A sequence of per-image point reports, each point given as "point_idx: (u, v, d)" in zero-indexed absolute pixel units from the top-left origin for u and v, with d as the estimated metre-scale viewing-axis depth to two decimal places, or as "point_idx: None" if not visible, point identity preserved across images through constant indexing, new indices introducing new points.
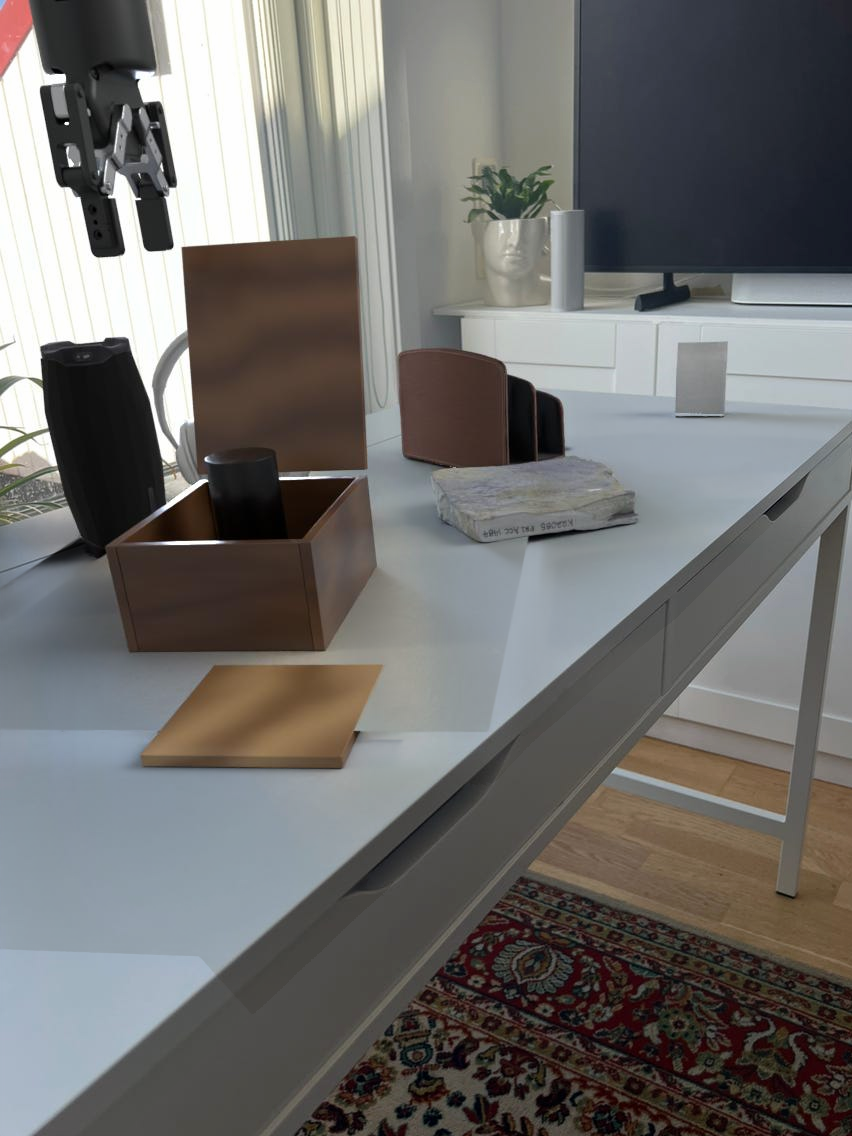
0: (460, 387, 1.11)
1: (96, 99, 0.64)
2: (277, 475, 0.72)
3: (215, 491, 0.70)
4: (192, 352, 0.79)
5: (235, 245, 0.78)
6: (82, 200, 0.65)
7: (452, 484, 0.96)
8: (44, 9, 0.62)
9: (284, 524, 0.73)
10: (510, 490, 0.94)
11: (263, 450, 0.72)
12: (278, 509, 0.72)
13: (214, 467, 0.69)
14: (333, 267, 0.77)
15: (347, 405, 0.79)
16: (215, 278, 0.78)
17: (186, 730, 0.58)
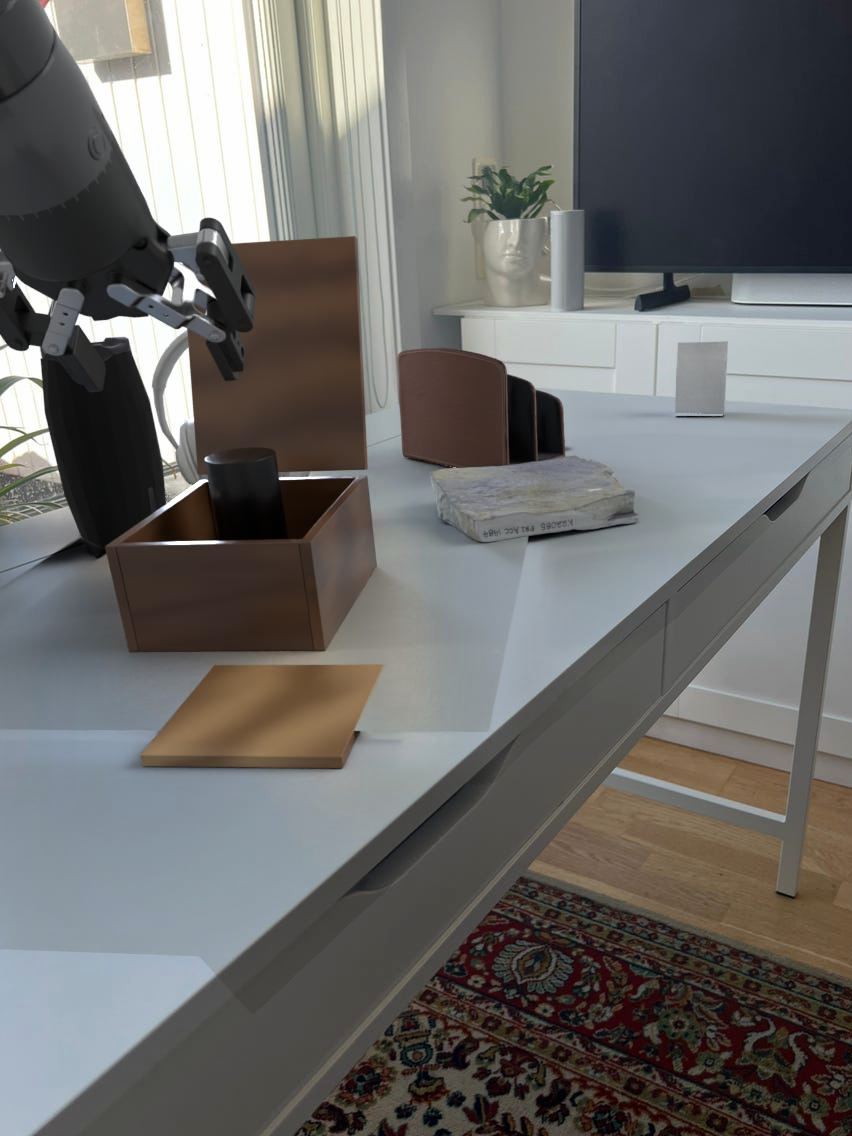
0: (460, 387, 1.11)
1: (20, 278, 0.50)
2: (277, 475, 0.72)
3: (215, 491, 0.70)
4: (192, 352, 0.79)
5: (235, 245, 0.78)
6: None
7: (452, 484, 0.96)
8: None
9: (284, 524, 0.73)
10: (510, 490, 0.94)
11: (263, 450, 0.72)
12: (278, 509, 0.72)
13: (214, 467, 0.69)
14: (333, 267, 0.77)
15: (347, 405, 0.79)
16: None
17: (186, 730, 0.58)
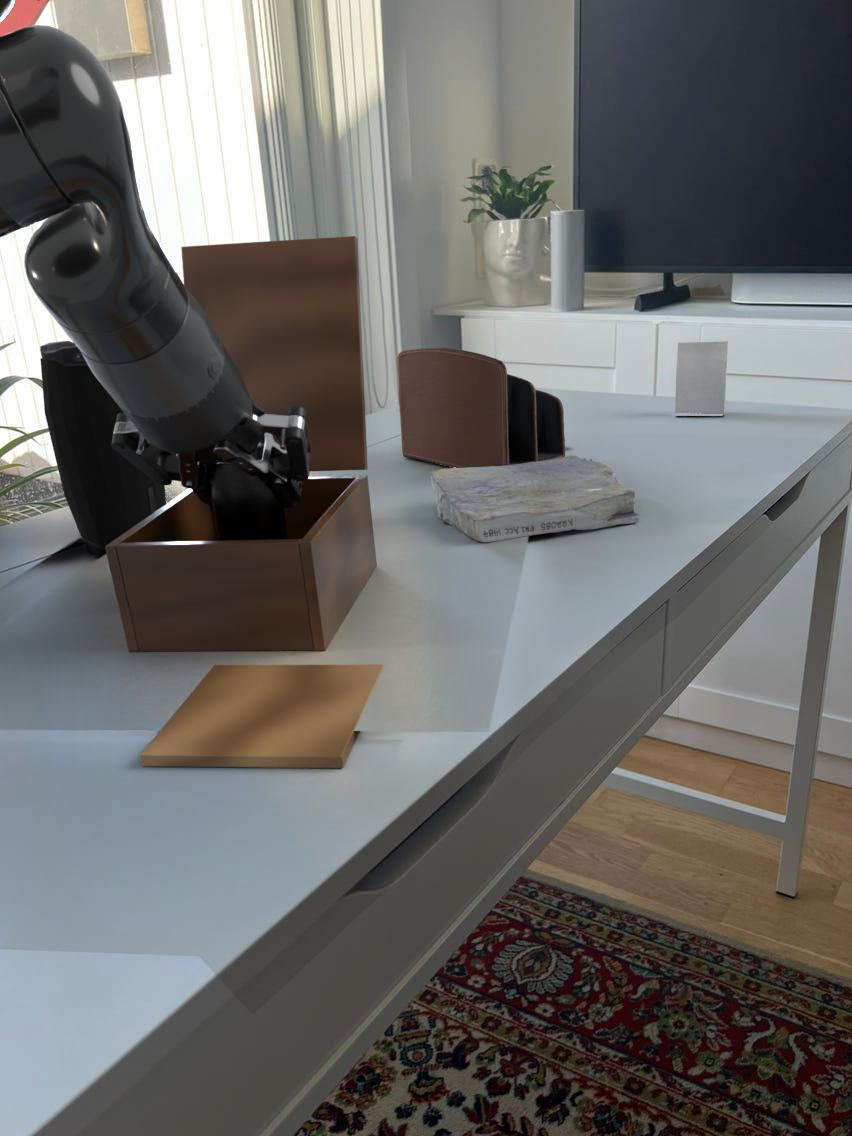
0: (460, 387, 1.11)
1: None
2: None
3: (216, 491, 0.70)
4: None
5: (235, 245, 0.78)
6: None
7: (452, 484, 0.96)
8: None
9: (284, 524, 0.73)
10: (510, 490, 0.94)
11: None
12: (278, 509, 0.72)
13: (214, 467, 0.69)
14: (333, 267, 0.77)
15: (347, 405, 0.79)
16: (215, 278, 0.78)
17: (186, 730, 0.58)
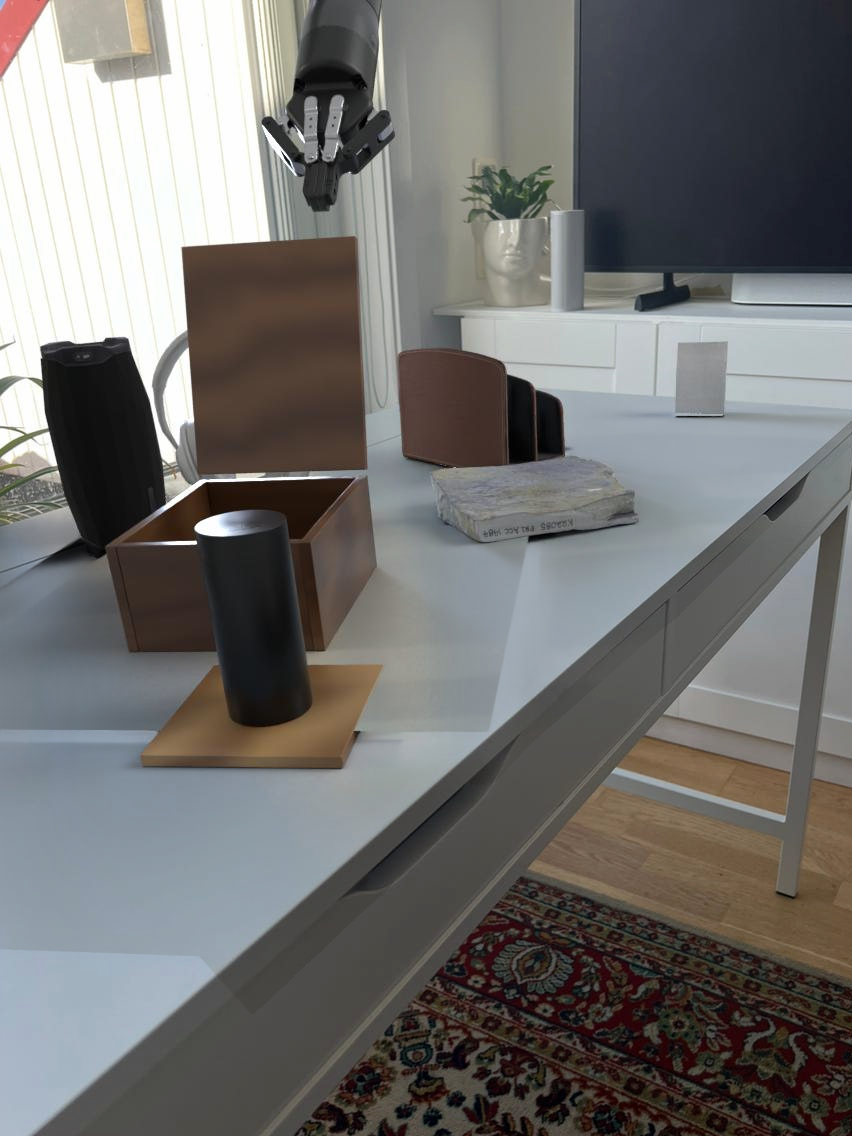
0: (460, 387, 1.11)
1: (288, 104, 0.90)
2: (288, 548, 0.55)
3: (208, 570, 0.54)
4: (192, 352, 0.79)
5: (235, 245, 0.78)
6: None
7: (452, 484, 0.96)
8: None
9: (297, 609, 0.57)
10: (510, 490, 0.94)
11: (270, 515, 0.56)
12: (290, 592, 0.56)
13: (206, 540, 0.53)
14: (333, 267, 0.77)
15: (347, 405, 0.79)
16: (215, 278, 0.78)
17: (186, 730, 0.58)
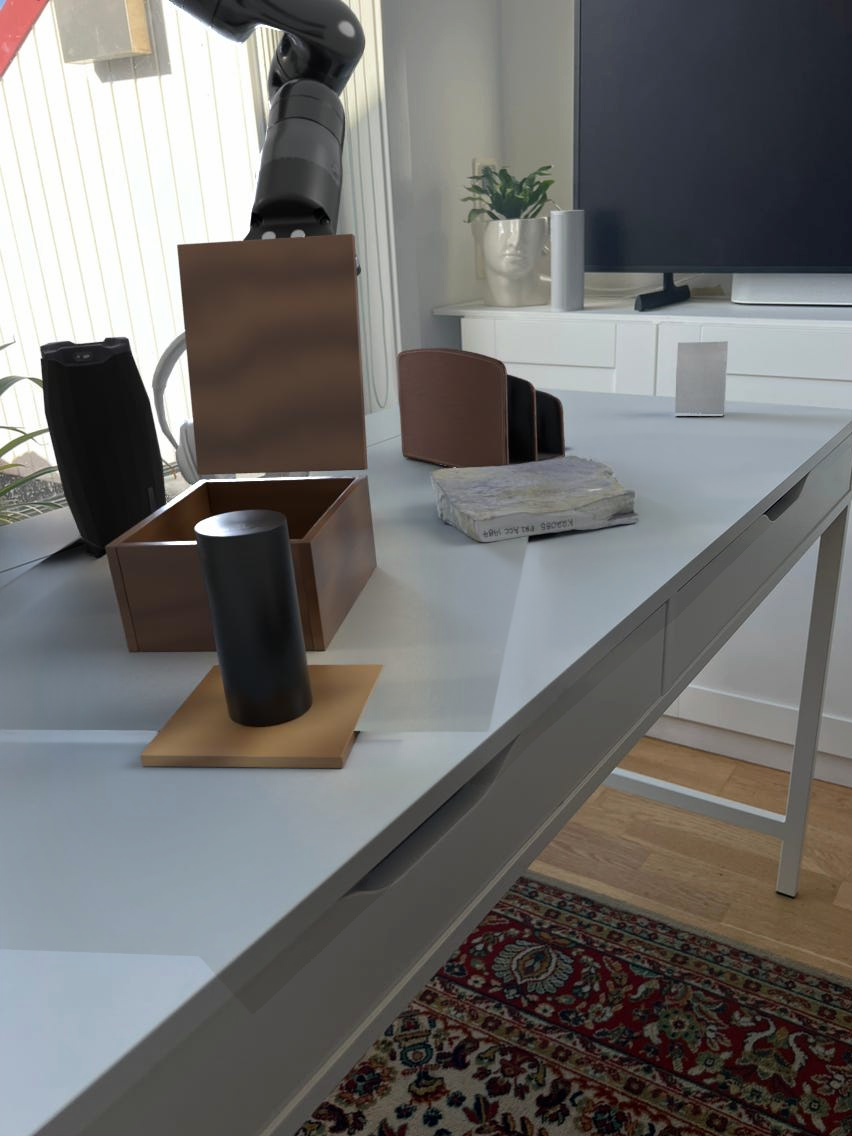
0: (460, 387, 1.11)
1: (244, 239, 0.83)
2: (288, 548, 0.55)
3: (208, 570, 0.54)
4: (190, 352, 0.79)
5: (231, 243, 0.77)
6: None
7: (452, 484, 0.96)
8: None
9: (297, 609, 0.57)
10: (510, 490, 0.94)
11: (270, 515, 0.56)
12: (290, 592, 0.56)
13: (206, 540, 0.53)
14: (330, 265, 0.76)
15: (346, 406, 0.78)
16: (211, 277, 0.78)
17: (186, 730, 0.58)
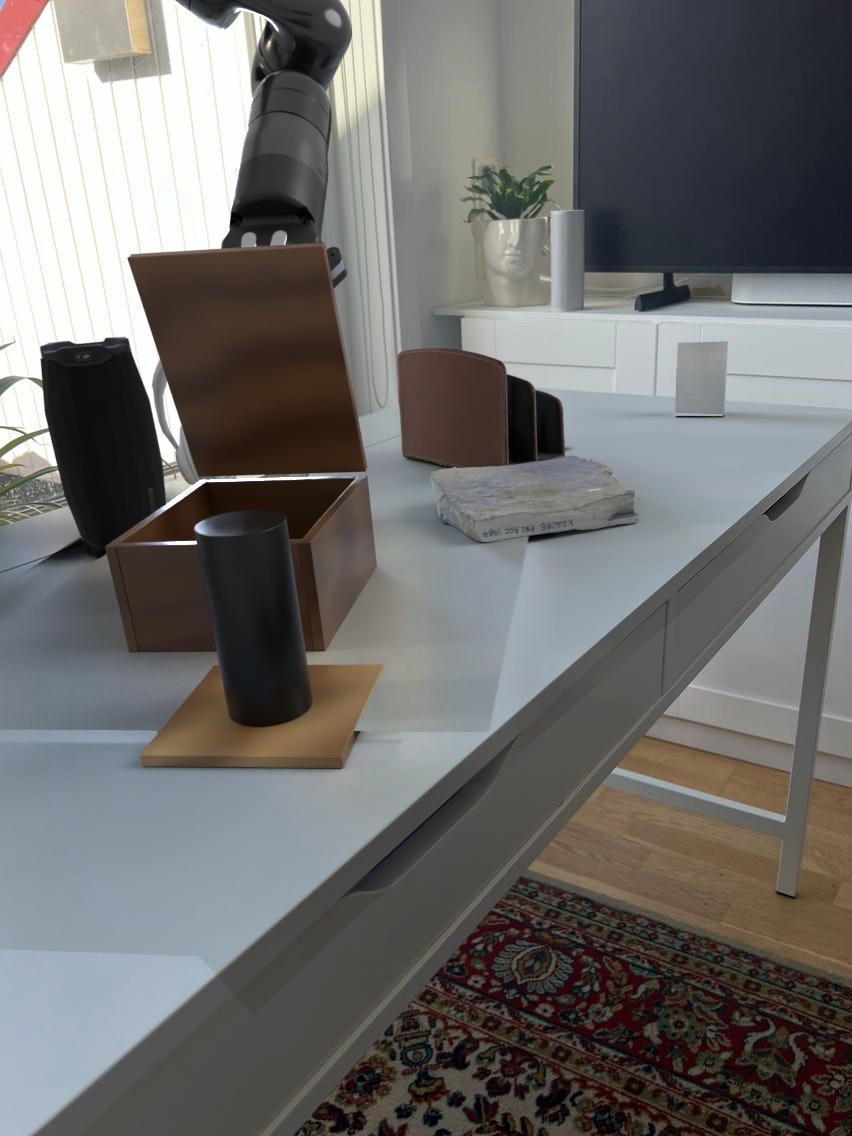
0: (460, 387, 1.11)
1: (223, 241, 0.78)
2: (288, 548, 0.55)
3: (208, 570, 0.54)
4: (166, 366, 0.75)
5: (188, 256, 0.69)
6: None
7: (452, 484, 0.96)
8: None
9: (297, 609, 0.57)
10: (510, 490, 0.94)
11: (270, 515, 0.56)
12: (290, 592, 0.56)
13: (206, 540, 0.53)
14: (303, 280, 0.69)
15: (339, 416, 0.76)
16: (173, 292, 0.71)
17: (186, 730, 0.58)
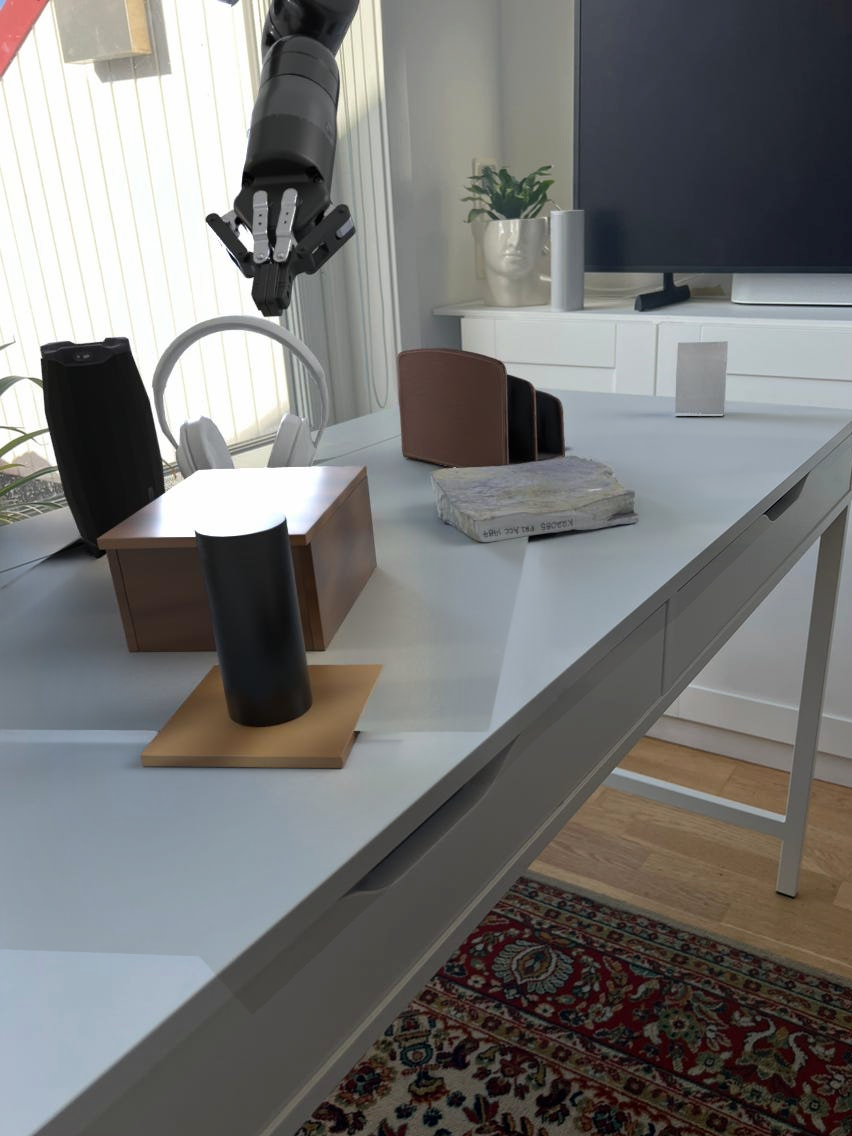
0: (460, 387, 1.11)
1: (235, 199, 0.81)
2: (288, 548, 0.55)
3: (208, 570, 0.54)
4: None
5: (164, 547, 0.65)
6: None
7: (452, 484, 0.96)
8: None
9: (297, 609, 0.57)
10: (510, 490, 0.94)
11: (270, 515, 0.56)
12: (290, 592, 0.56)
13: (206, 540, 0.53)
14: None
15: None
16: None
17: (186, 730, 0.58)
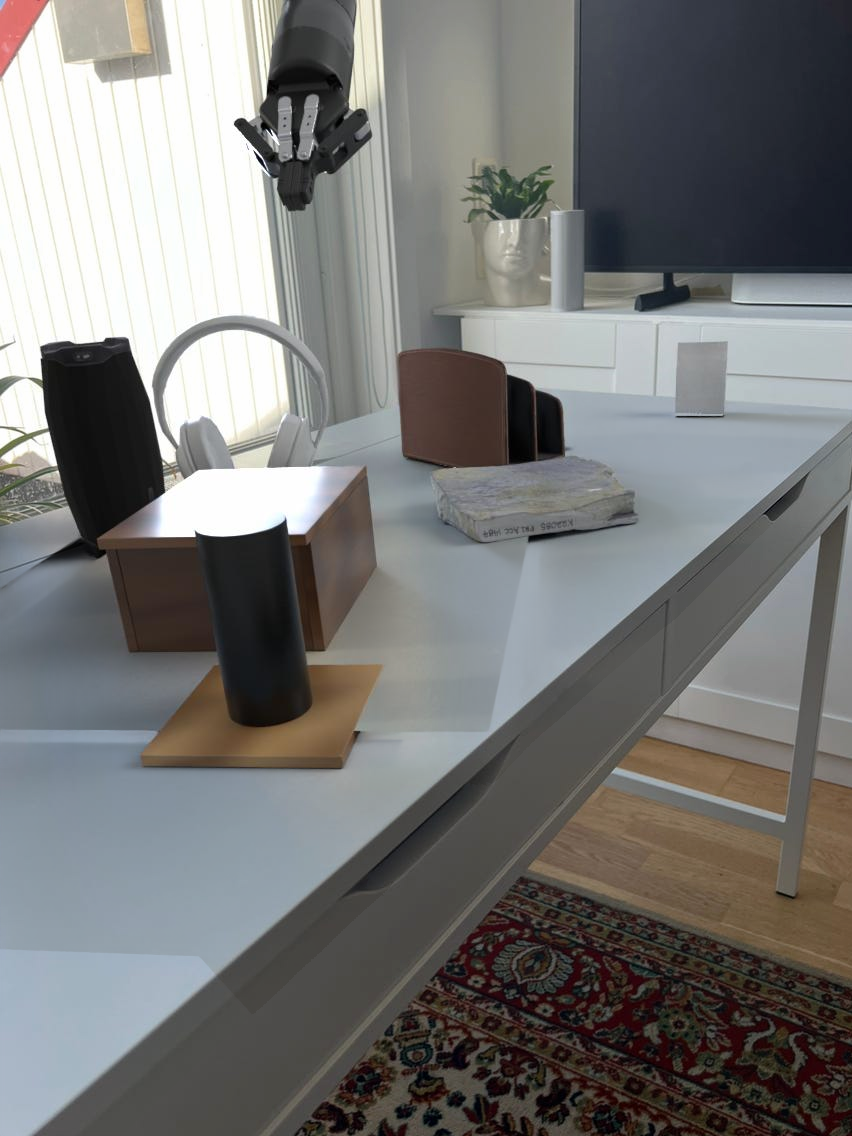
0: (460, 387, 1.11)
1: (261, 106, 0.87)
2: (288, 548, 0.55)
3: (208, 570, 0.54)
4: None
5: (164, 547, 0.65)
6: None
7: (452, 484, 0.96)
8: None
9: (297, 609, 0.57)
10: (510, 490, 0.94)
11: (270, 515, 0.56)
12: (290, 592, 0.56)
13: (206, 540, 0.53)
14: None
15: None
16: None
17: (186, 730, 0.58)
